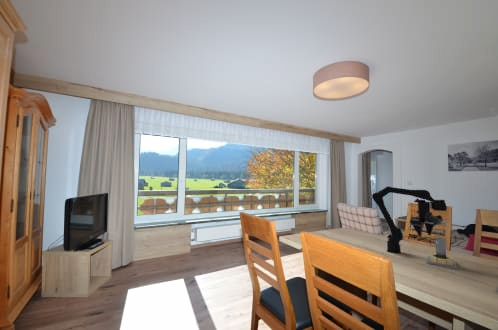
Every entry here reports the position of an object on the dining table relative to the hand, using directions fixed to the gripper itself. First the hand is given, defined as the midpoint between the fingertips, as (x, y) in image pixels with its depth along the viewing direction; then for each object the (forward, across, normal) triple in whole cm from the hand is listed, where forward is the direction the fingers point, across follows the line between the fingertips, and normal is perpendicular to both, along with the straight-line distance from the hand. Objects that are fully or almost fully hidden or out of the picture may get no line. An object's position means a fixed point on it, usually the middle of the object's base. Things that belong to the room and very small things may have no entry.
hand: (424, 235), depth 133 cm
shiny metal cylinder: (+11, -6, -11) cm, 16 cm away
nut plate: (+12, -6, -11) cm, 17 cm away
